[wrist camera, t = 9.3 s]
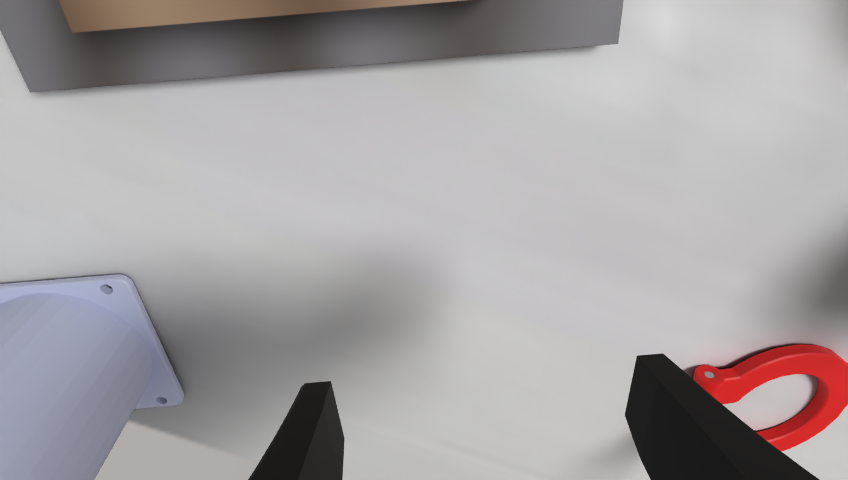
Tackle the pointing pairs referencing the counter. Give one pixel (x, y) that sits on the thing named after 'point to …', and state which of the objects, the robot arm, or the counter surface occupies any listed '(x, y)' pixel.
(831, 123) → the counter surface
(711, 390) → the tow hook
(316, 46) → the holder
